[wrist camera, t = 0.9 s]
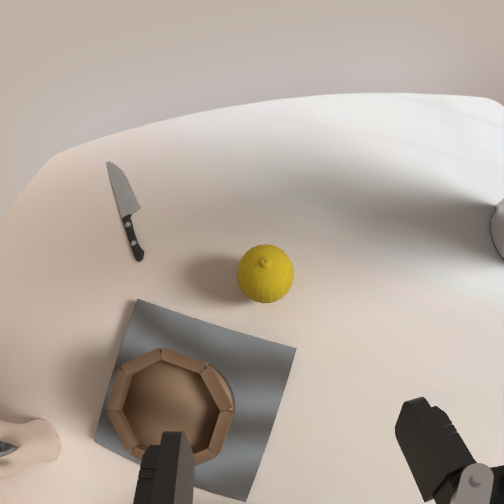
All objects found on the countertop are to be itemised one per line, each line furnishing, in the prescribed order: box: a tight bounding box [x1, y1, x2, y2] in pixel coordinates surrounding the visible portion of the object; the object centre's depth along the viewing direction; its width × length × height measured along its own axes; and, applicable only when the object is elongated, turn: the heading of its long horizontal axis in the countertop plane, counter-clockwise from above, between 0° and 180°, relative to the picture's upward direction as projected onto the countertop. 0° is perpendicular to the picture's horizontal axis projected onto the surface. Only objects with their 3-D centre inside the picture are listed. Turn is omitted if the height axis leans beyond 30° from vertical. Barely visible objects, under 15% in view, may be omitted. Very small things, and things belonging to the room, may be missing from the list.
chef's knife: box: [106, 161, 144, 261], centre depth 40 cm, size 19×1×3 cm
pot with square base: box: [94, 299, 297, 502], centre depth 27 cm, size 18×18×9 cm
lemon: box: [237, 244, 294, 303], centre depth 32 cm, size 6×6×8 cm
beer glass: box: [0, 419, 61, 480], centre depth 22 cm, size 7×7×15 cm
